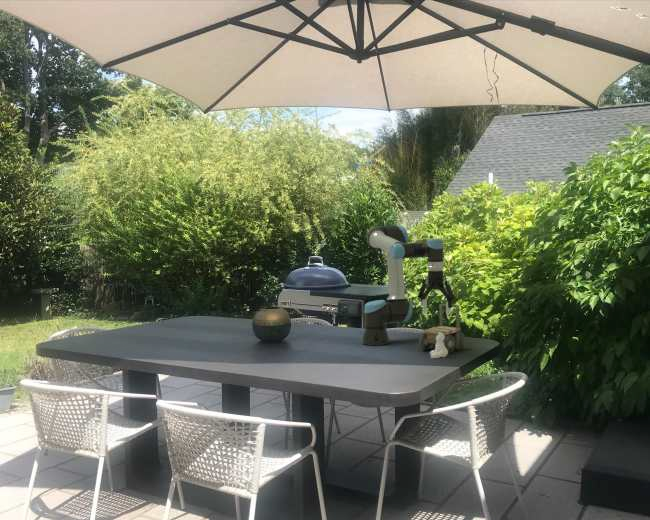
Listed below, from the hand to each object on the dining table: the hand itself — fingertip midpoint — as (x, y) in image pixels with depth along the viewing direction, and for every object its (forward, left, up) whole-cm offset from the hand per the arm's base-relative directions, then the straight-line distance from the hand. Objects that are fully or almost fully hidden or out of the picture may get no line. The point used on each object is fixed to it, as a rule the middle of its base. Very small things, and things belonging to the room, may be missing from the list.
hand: (436, 313), depth 311 cm
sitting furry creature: (+1, -1, -21) cm, 21 cm away
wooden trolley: (-6, +14, -21) cm, 26 cm away
